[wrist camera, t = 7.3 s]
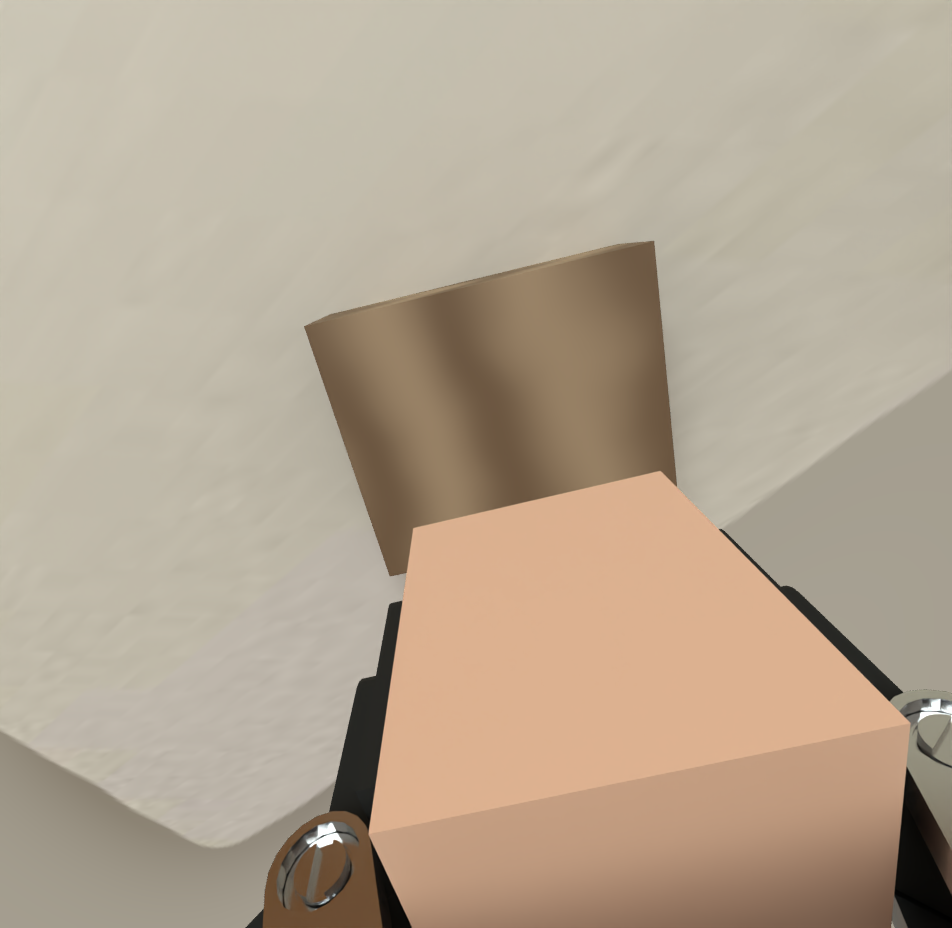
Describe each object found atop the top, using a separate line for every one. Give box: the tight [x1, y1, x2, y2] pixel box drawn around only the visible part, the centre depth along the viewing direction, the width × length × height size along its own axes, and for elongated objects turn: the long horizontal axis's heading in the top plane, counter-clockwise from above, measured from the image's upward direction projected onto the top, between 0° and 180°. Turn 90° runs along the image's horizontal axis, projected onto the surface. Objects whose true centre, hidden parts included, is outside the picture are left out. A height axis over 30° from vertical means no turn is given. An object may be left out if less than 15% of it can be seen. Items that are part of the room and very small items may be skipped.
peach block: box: [369, 471, 911, 928], centre depth 8 cm, size 5×5×6 cm
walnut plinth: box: [304, 241, 677, 576], centre depth 25 cm, size 14×12×5 cm
